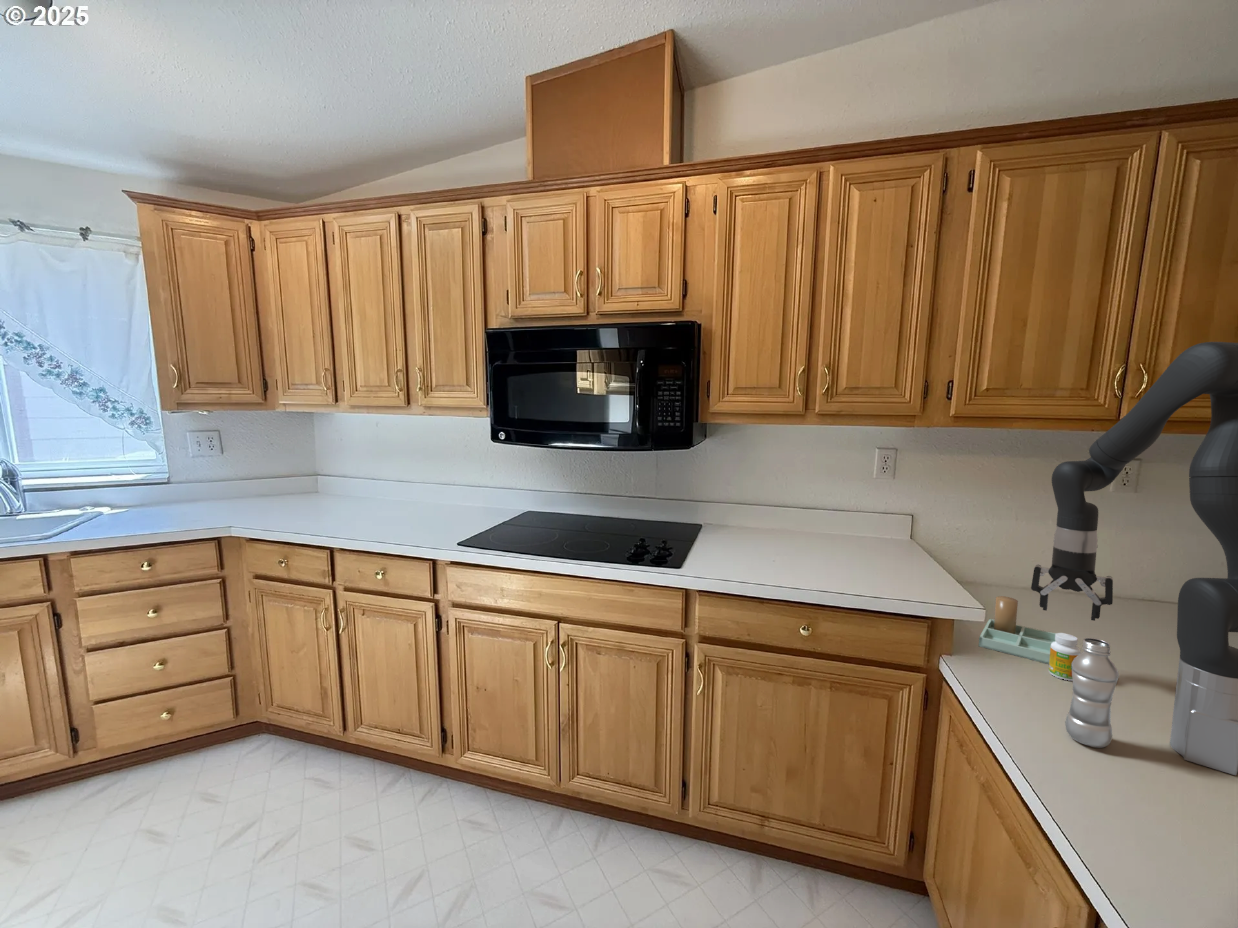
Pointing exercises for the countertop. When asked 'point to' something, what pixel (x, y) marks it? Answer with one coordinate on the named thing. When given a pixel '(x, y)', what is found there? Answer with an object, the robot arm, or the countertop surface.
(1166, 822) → the countertop surface
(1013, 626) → the tan cylinder
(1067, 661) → the supplement bottle
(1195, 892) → the countertop surface
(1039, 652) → the tray
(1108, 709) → the plastic bottle
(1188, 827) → the countertop surface
